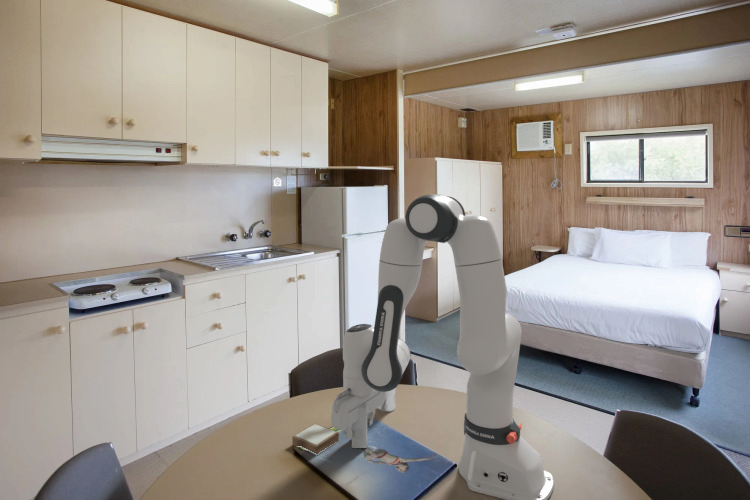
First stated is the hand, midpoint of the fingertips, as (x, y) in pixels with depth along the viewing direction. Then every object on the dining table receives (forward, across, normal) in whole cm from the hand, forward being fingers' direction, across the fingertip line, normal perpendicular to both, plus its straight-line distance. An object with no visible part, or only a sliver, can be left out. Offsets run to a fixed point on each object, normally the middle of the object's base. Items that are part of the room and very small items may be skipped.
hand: (359, 430), depth 129 cm
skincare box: (+4, 0, 0) cm, 4 cm away
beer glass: (+4, +22, +6) cm, 23 cm away
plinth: (+4, -7, +10) cm, 13 cm away
